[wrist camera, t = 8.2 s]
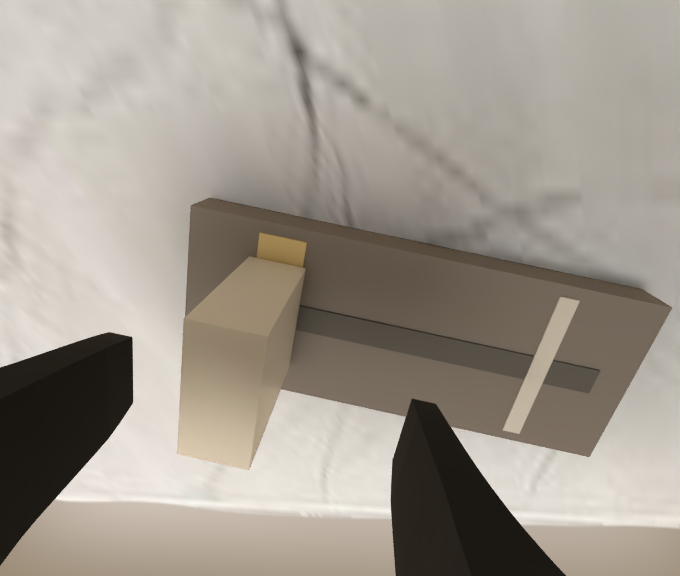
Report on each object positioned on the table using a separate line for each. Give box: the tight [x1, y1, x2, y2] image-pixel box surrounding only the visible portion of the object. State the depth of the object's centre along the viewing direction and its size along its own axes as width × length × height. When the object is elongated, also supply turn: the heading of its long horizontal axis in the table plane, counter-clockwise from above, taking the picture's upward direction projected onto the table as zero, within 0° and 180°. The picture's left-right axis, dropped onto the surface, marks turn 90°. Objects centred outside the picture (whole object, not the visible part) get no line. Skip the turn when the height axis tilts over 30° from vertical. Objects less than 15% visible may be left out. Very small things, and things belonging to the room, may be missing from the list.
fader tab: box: [177, 256, 306, 470], centre depth 15 cm, size 2×5×6 cm, turn 170°
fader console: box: [185, 198, 672, 457], centre depth 19 cm, size 20×8×2 cm, turn 79°
